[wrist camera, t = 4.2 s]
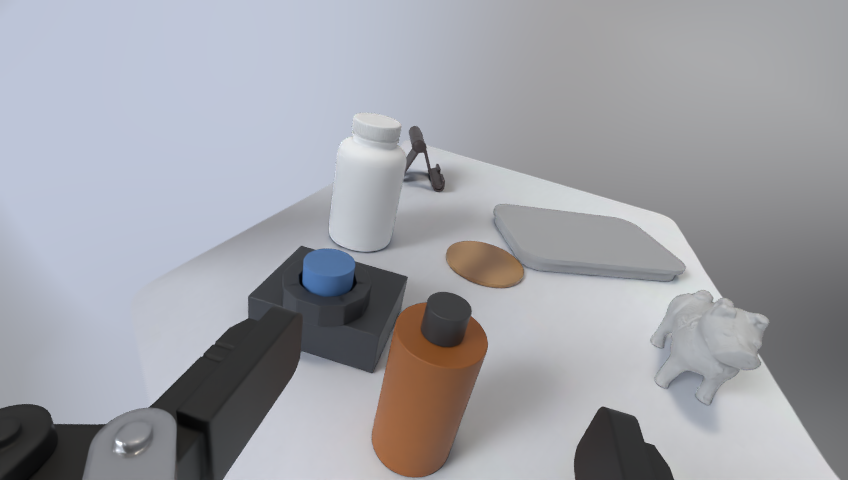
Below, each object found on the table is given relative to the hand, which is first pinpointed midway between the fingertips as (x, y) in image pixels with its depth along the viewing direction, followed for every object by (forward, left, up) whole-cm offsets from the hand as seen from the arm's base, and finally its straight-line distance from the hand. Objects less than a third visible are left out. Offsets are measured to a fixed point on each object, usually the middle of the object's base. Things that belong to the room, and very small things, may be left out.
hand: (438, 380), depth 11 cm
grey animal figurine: (+24, +27, -18) cm, 40 cm away
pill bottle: (-13, +36, -18) cm, 42 cm away
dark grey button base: (-10, +20, -18) cm, 29 cm away
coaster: (+3, +38, -18) cm, 42 cm away
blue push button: (-10, +18, -12) cm, 24 cm away
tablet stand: (-11, +61, -18) cm, 65 cm away
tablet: (+17, +51, -18) cm, 57 cm away
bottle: (0, +11, -18) cm, 21 cm away
